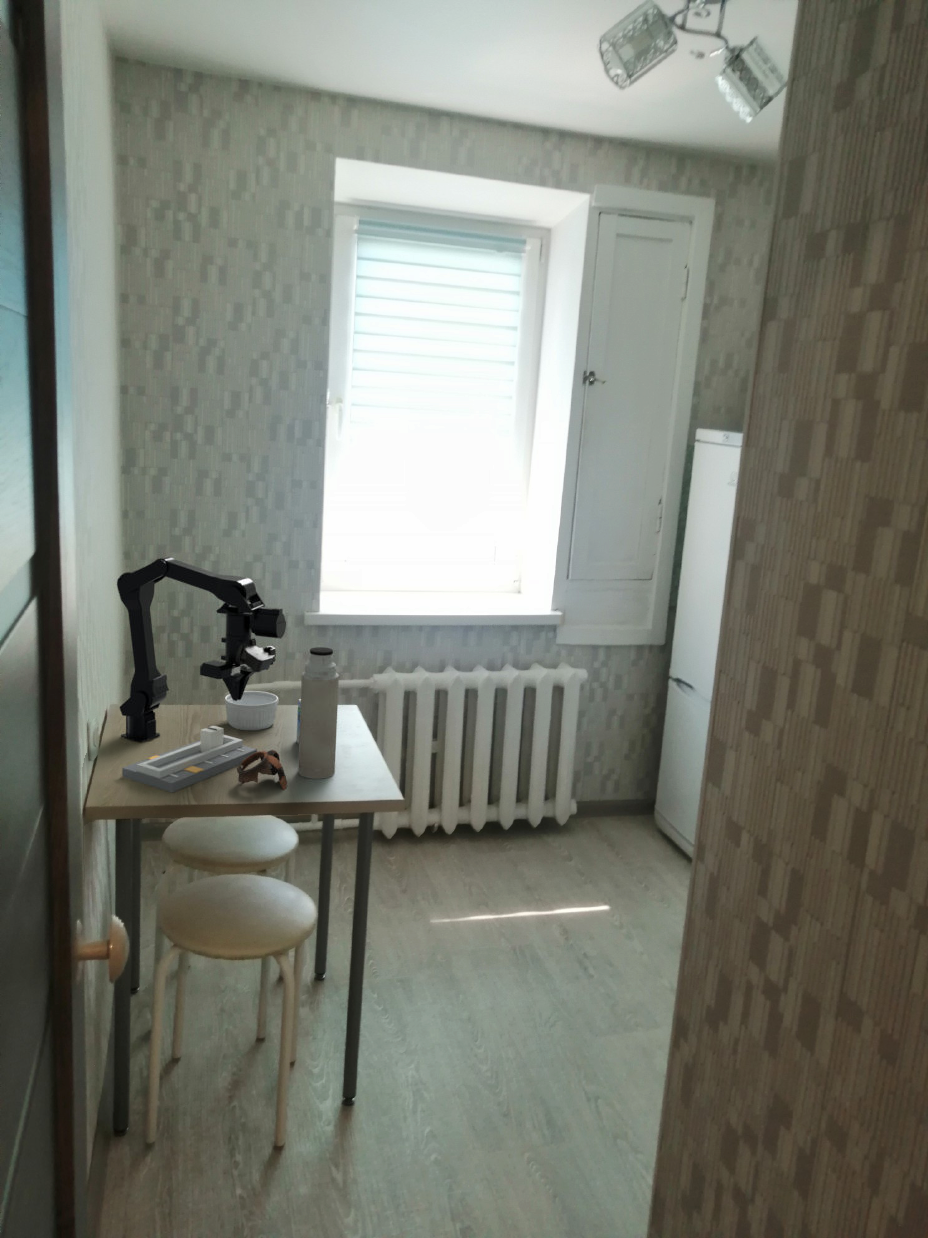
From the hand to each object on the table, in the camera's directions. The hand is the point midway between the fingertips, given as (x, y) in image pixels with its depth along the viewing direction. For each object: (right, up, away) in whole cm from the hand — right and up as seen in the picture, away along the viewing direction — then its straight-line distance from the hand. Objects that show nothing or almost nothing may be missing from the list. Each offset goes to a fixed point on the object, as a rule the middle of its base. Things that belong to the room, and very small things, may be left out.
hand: (236, 700), depth 210 cm
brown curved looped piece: (+10, -17, -16) cm, 25 cm away
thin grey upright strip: (+17, -12, +8) cm, 22 cm away
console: (-7, -14, -10) cm, 18 cm away
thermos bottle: (+19, -15, -8) cm, 26 cm away
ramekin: (-2, -8, +22) cm, 23 cm away
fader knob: (-4, -11, -5) cm, 13 cm away
